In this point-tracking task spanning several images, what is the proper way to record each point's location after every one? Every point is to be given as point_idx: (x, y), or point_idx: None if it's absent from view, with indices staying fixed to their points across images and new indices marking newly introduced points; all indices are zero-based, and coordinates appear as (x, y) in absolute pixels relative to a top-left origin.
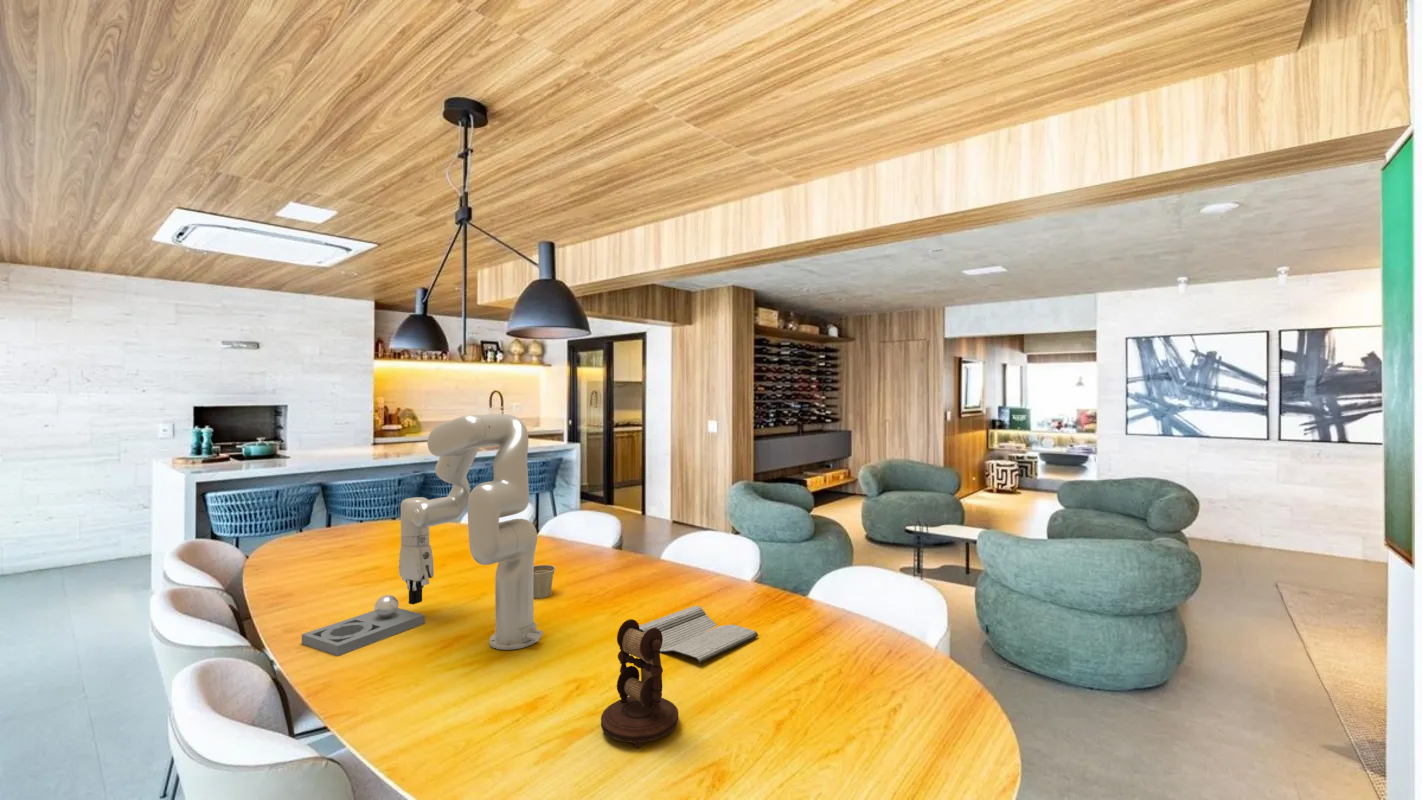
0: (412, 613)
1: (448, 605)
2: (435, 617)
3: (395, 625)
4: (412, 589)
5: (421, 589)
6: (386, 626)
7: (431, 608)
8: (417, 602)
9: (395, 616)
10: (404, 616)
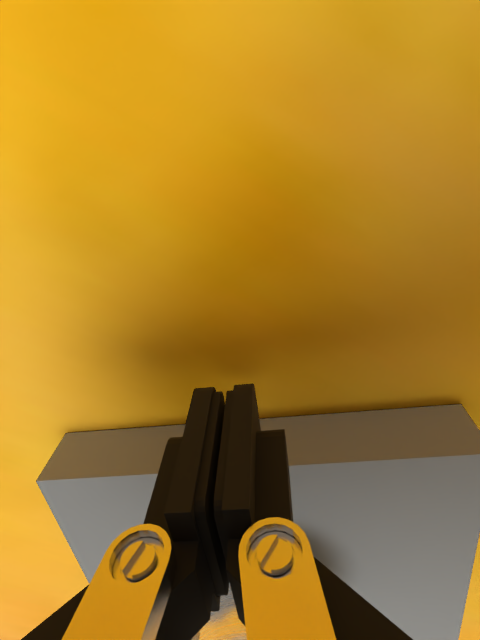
0: (371, 481)
1: (234, 11)
2: (429, 297)
3: (463, 603)
4: (212, 593)
5: (251, 499)
6: (429, 627)
7: (178, 192)
8: (258, 425)
9: (316, 551)
10: (374, 528)
